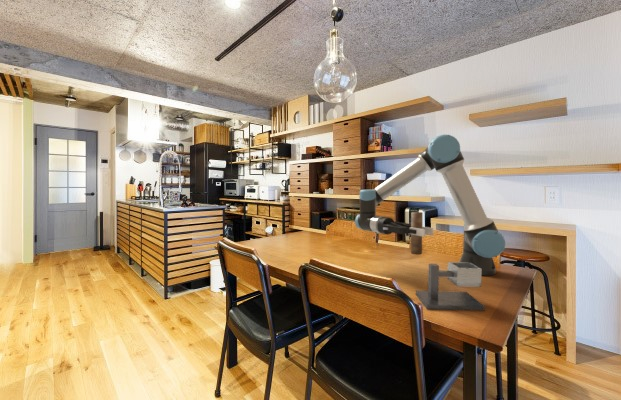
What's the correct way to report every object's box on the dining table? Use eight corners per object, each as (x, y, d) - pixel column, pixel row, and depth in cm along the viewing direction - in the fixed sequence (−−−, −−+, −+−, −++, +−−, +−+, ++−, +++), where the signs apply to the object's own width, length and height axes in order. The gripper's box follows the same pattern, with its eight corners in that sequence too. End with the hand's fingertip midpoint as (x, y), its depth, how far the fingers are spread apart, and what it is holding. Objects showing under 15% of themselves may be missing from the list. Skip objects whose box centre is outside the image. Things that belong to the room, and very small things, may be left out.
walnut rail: (420, 252, 113) (420, 212, 112) (423, 254, 109) (423, 213, 108) (409, 252, 113) (410, 212, 112) (412, 254, 109) (413, 213, 108)
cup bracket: (466, 295, 103) (467, 260, 102) (484, 310, 91) (486, 271, 90) (415, 294, 104) (416, 259, 103) (426, 309, 92) (427, 269, 91)
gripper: (396, 231, 130) (442, 239, 110) (368, 235, 122) (413, 245, 102) (396, 215, 130) (442, 220, 110) (368, 218, 121) (413, 224, 101)
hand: (428, 232), depth 106 cm, fingers closed on walnut rail, 4 cm apart
